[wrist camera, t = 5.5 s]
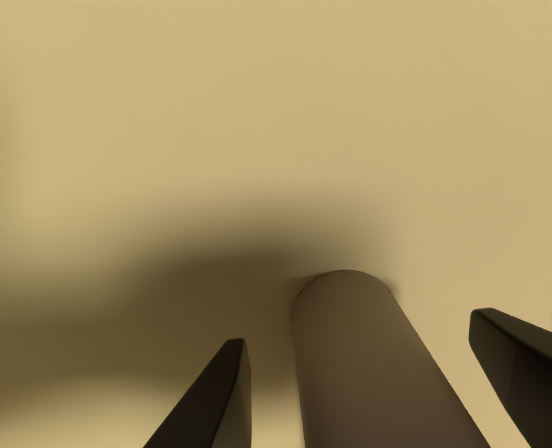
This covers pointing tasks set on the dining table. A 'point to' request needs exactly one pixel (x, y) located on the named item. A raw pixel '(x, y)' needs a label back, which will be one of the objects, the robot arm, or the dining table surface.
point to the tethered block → (370, 372)
